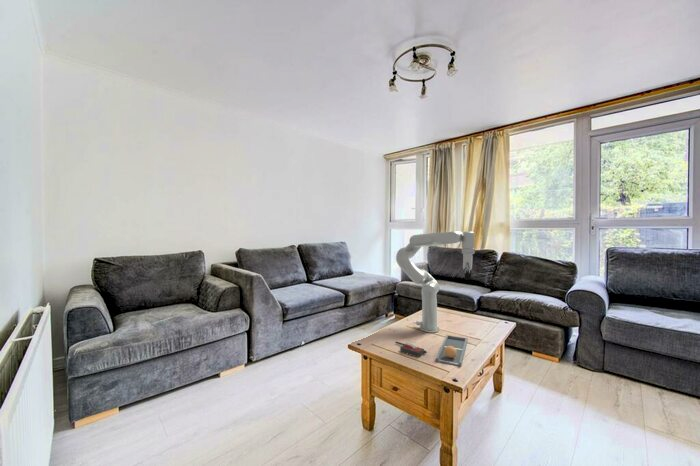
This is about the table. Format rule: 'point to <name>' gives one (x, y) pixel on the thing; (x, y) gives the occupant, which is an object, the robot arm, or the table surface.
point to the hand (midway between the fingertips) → (468, 278)
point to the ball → (450, 352)
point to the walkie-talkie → (412, 349)
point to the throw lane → (458, 344)
